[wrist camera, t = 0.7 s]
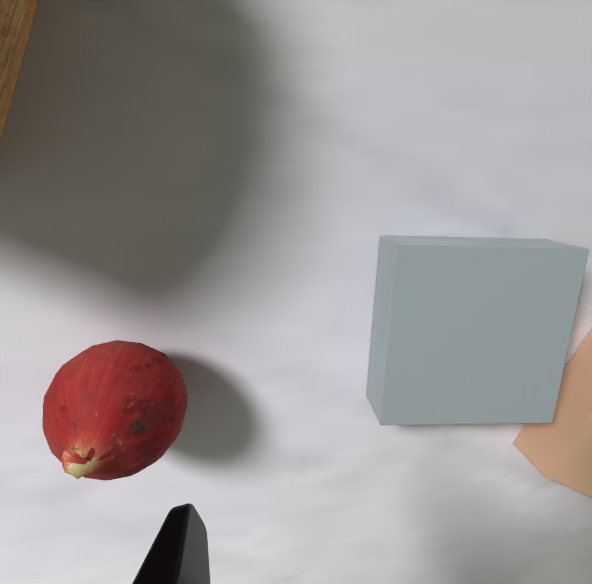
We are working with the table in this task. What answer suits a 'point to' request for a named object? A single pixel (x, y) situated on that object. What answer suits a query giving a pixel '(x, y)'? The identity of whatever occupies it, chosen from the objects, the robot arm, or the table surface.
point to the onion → (113, 410)
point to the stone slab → (471, 329)
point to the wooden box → (13, 47)
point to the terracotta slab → (566, 428)
